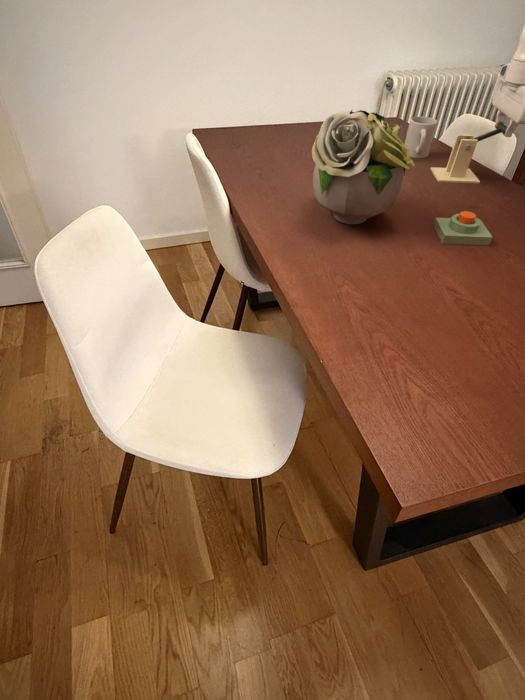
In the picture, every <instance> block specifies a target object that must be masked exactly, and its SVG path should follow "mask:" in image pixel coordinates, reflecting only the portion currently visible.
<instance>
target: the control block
mask: <svg viewBox="0 0 525 700" xmlns="http://www.w3.org/2000/svg"><path fill="white" fill-rule="evenodd" d="M459 214H460V213H455V214H453V215H452V216H451V217H437V216H436V217H435V216H434V217H435V218H434V221H433V223H432V227H433V229H434V231H435V233H436V234H437V237H438V238H439V241H440V243H441V244H443V245H465V246H467V245H469V246H490V244H491V243H492V239H493V236H492V234H491V233H490V231H489V229H487V227H486V226H485V224H484V223H483V221H482V219H480V218H477V217H476V218H475V220H474V223H473V224H463V223H461V222H459V221H458V217H459Z"/></svg>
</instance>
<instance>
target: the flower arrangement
mask: <svg viewBox="0 0 525 700" xmlns="http://www.w3.org/2000/svg"><path fill="white" fill-rule="evenodd" d="M384 120H385V116H383V115H381V114H378V112H368V111H366V110H357V111H353V109H350V110H344V111H341V112H337V113H334V114H331V115H330V116H328V117H326V118H325V119H324V121H323V122H322V123H321V126H320V129H319V132H318V134H317V135H316V136H315V140H314V142H313V145H312V148H311V157H312V160H313V162H314V164H315V166H314V170H313V175H312V190H313V194H314V197H315V199H316V200H317V202H318V203H319V205H321V206H322V208H324V210H326V211H327V212H329V213H331V214H332V215H333V217H334V219H335V220H336V221H338V222H339V223H342V224H345V225H360V224H363V223H364V222H366V221H367V220H368V219H370V218H373V217H375V216H377V215H380V214H381V213H383V212H386V211H387V210H388V209H389V208H390V207H391V206H392V205H393V204H394V202H395V201H396V199H397V198H398V196H399V194H400V192H401V188H402V184H403V180H404V175H406V170H410V165H411V166H412V167H413V168H414V167H416V164H415V162H414V160H413V159H412V157H411V155H412V153H411V152H410V151H409V150H407V148H406V147H405V142H403V141H402V140H401V138H400V137H399V135H398V134H399V130H400V129H401V126H399V124H398V123H395V124H394V125H393V127H391V126H390V125H389V123H388V122H387V121H386V120H385V121H384Z"/></svg>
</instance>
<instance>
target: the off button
mask: <svg viewBox="0 0 525 700" xmlns="http://www.w3.org/2000/svg"><path fill="white" fill-rule="evenodd" d="M458 214H459V217H458V221H459V222H461V223H463V224H473V223H474V220H475V218H477V215H476V213H474V212H472V211H467V210H463V211H460V212H459V213H458Z"/></svg>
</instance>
